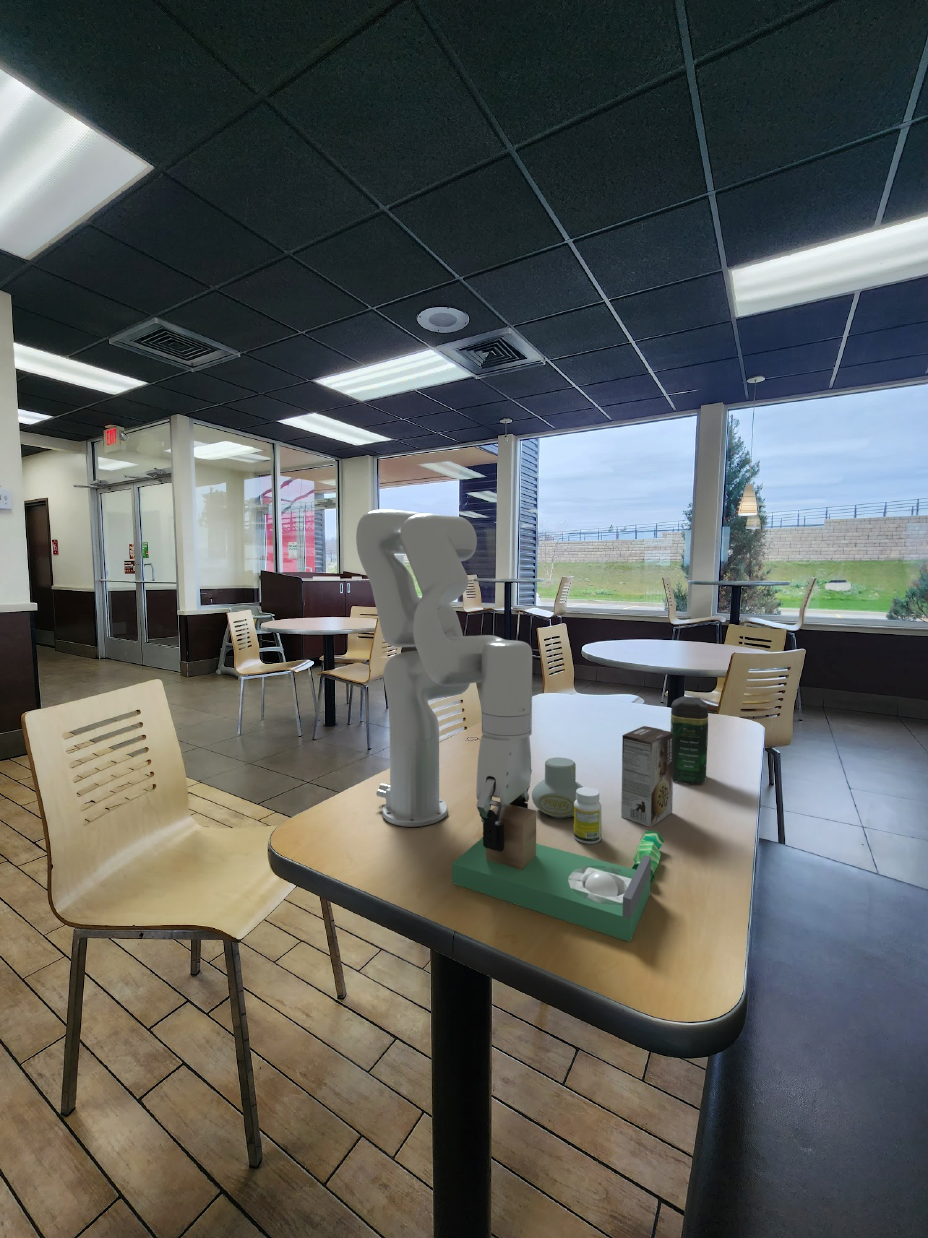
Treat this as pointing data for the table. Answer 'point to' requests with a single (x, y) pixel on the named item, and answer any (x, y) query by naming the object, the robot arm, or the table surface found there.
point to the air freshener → (557, 788)
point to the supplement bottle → (587, 816)
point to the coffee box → (647, 775)
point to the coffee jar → (689, 739)
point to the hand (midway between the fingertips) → (506, 836)
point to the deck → (561, 887)
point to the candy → (649, 850)
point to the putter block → (516, 837)
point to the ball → (601, 884)
